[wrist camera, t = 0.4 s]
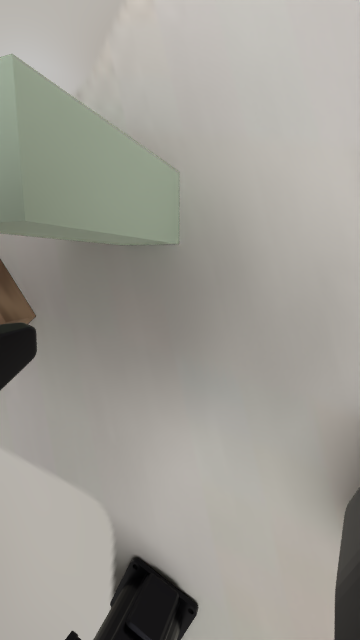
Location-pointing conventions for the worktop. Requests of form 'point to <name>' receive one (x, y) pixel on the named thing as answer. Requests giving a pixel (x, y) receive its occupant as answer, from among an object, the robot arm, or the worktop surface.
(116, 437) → the worktop surface
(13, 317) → the walnut base
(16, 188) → the sage block
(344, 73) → the worktop surface
